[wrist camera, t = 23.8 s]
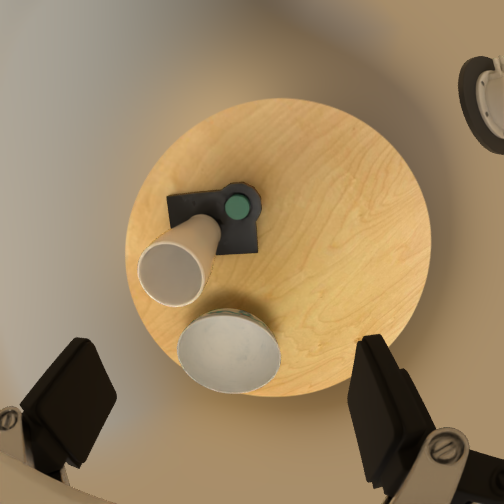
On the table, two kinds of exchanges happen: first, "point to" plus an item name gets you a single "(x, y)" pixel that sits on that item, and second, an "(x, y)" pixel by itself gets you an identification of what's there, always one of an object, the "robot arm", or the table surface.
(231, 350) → the chinaware
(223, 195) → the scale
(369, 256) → the table surface
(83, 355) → the robot arm
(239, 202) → the tare button
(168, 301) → the white tall cup
